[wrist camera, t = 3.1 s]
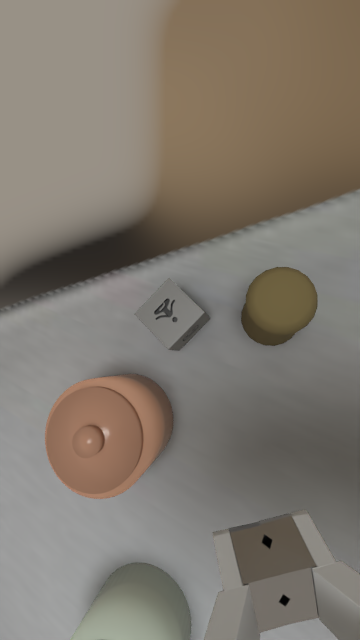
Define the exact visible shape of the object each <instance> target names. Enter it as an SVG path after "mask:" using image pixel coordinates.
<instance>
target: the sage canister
mask: <svg viewBox="0 0 360 640" xmlns="http://www.w3.org/2000/svg"><path fill="white" fill-rule="evenodd" d="M190 635H191V616H190V610H189V607H188V603H187V601H186V598H185V596H184V594H183V592H182V590H181V589H180V587H179V586H178V585H177V583H176V582H175V581H174V580H173V579H172V578H171V577H170V576H169V575H168V574H167V573H165V572H164V571H163V570H161V569H159V568H157V567H155V566H153V565H150V564H146V563H131V564H127V565H125V566H122V567H121V568H119V569H117V570H116V571H115V572H114V573H112V575H111V576H110V577H109V578H108V580H107V581H106V583H105V584H104V586H103V587H102V589H101V591H100V592H99V594H98V596H97V597H96V599H95V600H94V602H93V604H92V605H91V607H90V608H89V610H88V612H87V613H86V615H85V616H84V618H83V620H82V621H81V623H80V625H79V626H78V628H77V629H76V631H75V633H74V634H73V636H72V637H71V639H70V640H190Z"/></svg>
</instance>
